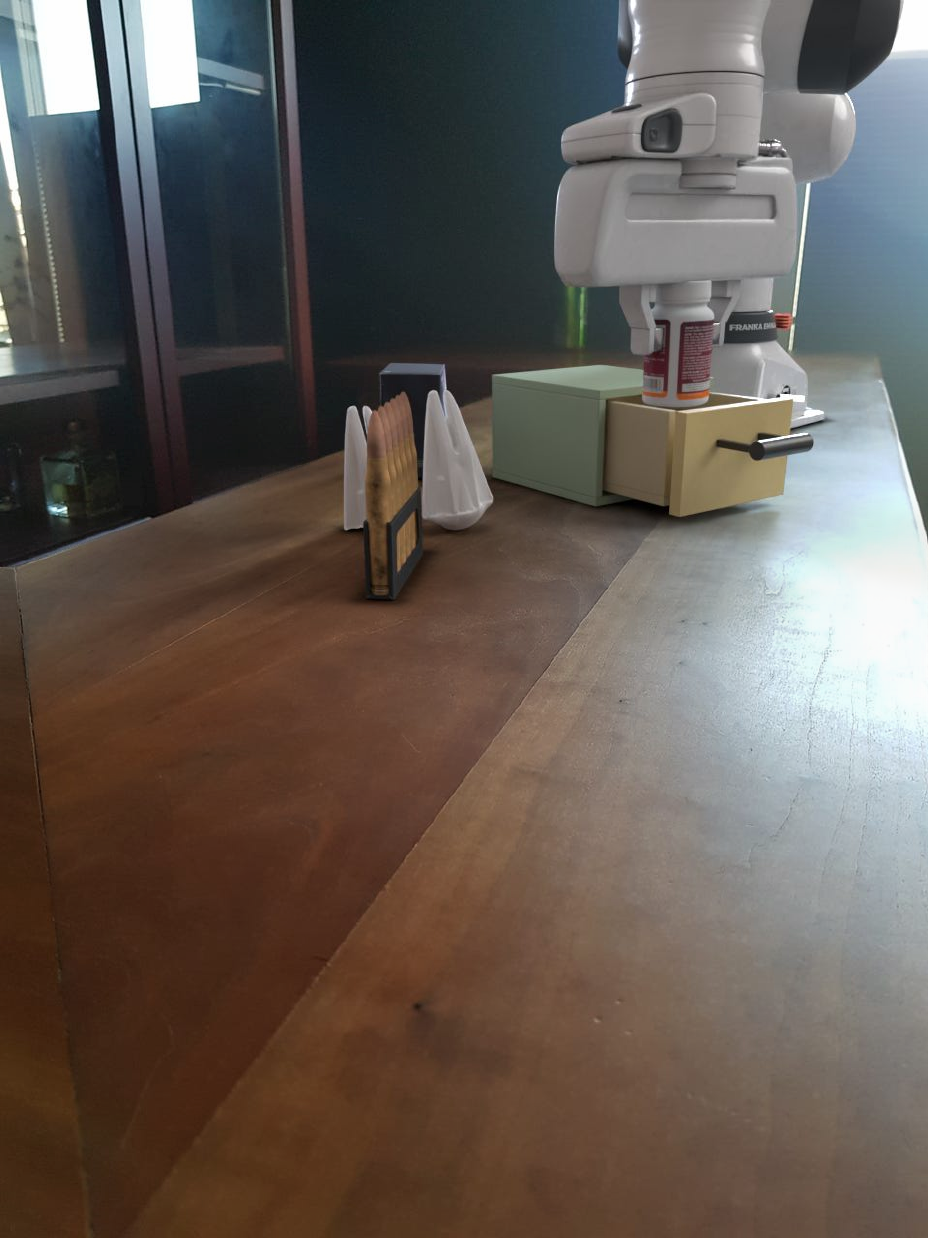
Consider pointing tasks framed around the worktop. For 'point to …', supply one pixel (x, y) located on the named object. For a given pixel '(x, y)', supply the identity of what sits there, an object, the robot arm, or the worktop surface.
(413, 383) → the small box
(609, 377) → the cabinet
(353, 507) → the shaker set
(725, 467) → the drawer
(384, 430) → the ammunition clip
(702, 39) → the robot arm
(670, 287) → the pill bottle
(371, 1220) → the worktop surface
